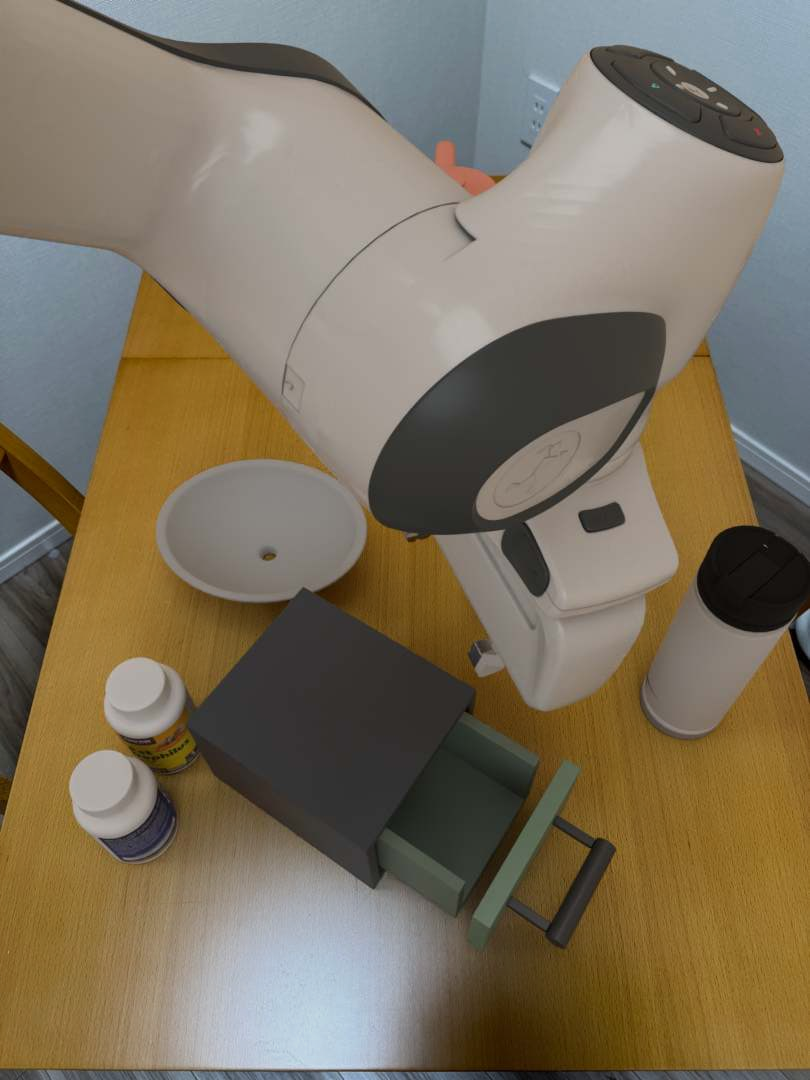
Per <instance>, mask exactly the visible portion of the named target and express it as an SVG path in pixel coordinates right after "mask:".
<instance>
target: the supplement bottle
mask: <svg viewBox="0 0 810 1080" xmlns="http://www.w3.org/2000/svg"><path fill="white" fill-rule="evenodd" d="M104 691H105V695H104V699H103V711H104V712H103V713H104V717H105V718H106V721H107V723H108V724H109V726H110V727H111V728H112V730H113V731H114V732H115V734H116V735H117V737H118V738H119V740H120V741H121V742H122V743H123V745H124V746H125V747H126V749H127V750H128V752H129V753H130V754H131V755H132V757H134V758H137V759H139V760H141V761H142V762H144V763H145V764H146V765H147V766H148V767H149V768H150V769H151V771H152V772H153V773H154V774H155V775H156V774H157V775H169V774H170V775H171V774H176V773H178V772H180V771H183V770H185V769H186V768H188V767H189V766H191V765H192V764H193V763H194V762H195V761H196V760H197V758H198V757H199V756H200V754H202V753H201V752H200V750H199V748H198V746H197V744H196V743H195V741H194V739H193V737H192V736H191V734H190V732H189V730H188V729H187V727H186V725H185V722H186V721H187V720H188V719H189V718H190V717H191V715H192V714H193V713H194V712H195V711H196V710H197V708H198V707H197V706H196V703H195V702H194V700H193V697H192V695H191V694H190V692H189V689H188V687H187V686H186V684H185V682H184V680H183V679H182V677H181V675H180V673H178V672H177V671H176V670H175V669H174V668H173V667H172V666H169V665H168V664H164V663H161V662H157V661H156V660H154V659H151V658H148V657H144V656H143V657H142V656H141V657H140V656H138V657H133V658H128V659H126V660H124V661H122V662H121V663H120V664H118V665H117V666H115V668H113V670H112V671H111V672H110V674H109V675H108V677H107V679H106V681H105V688H104Z"/></svg>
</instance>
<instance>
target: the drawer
mask: <svg viewBox="0 0 810 1080" xmlns="http://www.w3.org/2000/svg"><path fill="white" fill-rule="evenodd" d="M541 758H542V757H540V756H539V754H536V753H535V752H533V751H531V750H529V749H528V748H526V747H525V746H523V745H521V744H520V743H518V742H516V741H515V740H513V739H511V738H510V737H508V736H506V735H505V734H504V733H502V732H500V731H498V730H496V729H495V728H493V727H492V726H490V725H488V724H487V723H485V722H483V721H481V720H480V719H479V718H477V717H476V716H474V715H473V716H472V715H470V714H469V713H467V712H465V711H464V713H463V714H462V716H461V717H460V719H459V720H458V722H457V723H456V725H455V726H454V728H453V729H452V731H451V732H450V734H449V735H448V737H447V738H446V739H445V741H444V742H443V744H442V745H441V747H440V748H439V750H438V751H437V753H436V754H435V756H434V757H433V759H432V760H431V762H430V763H429V765H428V766H427V768H426V769H425V770H424V772H423V773H422V775H421V776H420V778H419V779H418V781H417V782H416V784H415V785H414V787H413V788H412V790H411V791H410V793H409V794H408V796H407V797H406V799H405V800H404V801H403V803H402V804H401V806H400V807H399V809H398V810H397V812H396V813H395V815H394V816H393V818H392V819H391V821H390V822H389V824H388V825H387V827H386V828H385V830H384V831H383V833H382V834H381V835H380V837H379V838H378V840H377V841H376V843H375V844H374V845H375V851H376V858H377V864H378V865H379V866H381V867H382V868H383V869H385V870H386V872H387V873H389V874H390V875H391V876H393V877H394V878H396V879H397V880H399V881H400V882H402V883H403V884H405V885H406V886H408V887H409V888H410V889H411V890H413V891H414V892H416V893H417V894H419V895H420V896H422V897H423V898H424V899H425V900H427V901H429V902H430V903H431V904H433V905H434V906H436V907H437V908H439V909H440V910H441V911H443V912H444V913H446V914H448V915H449V916H450V917H452V918H453V919H456V918H458V916H459V913H461V910H462V908H463V907H464V905H465V904H466V902H467V900H468V898H469V897H470V896H471V893H472V892H473V890H474V889H475V887H476V885H477V884H478V882H479V880H480V878H481V877H482V875H483V873H484V871H485V870H486V868H487V866H488V865H489V863H490V862H491V861H492V858H493V857H494V855H495V854H496V852H497V850H498V848H499V847H500V845H501V843H502V842H503V840H504V839H505V837H506V835H507V833H508V832H509V830H510V828H511V826H512V825H513V823H514V821H515V820H516V818H517V817H518V814H519V813H520V812H521V810H522V808H523V806H524V805H525V803H526V801H527V800H528V798H529V796H530V794H531V791H532V787H533V785H534V781H535V778H536V775H537V772H538V768H539V765H540V762H541ZM581 770H582V768H581V767H580V766H578V765H577V764H575V763H573V762H572V761H570V760H568V759H567V758H563V760H562V762H561V764H560V765H559V768H558V769H557V771H556V772H555V774H554V776H553V777H552V780H551V781H550V782H549V784H548V786H547V787H546V789H545V791H544V793H543V794H542V796H541V798H540V800H538V803H537V805H536V807H535V808H534V810H533V812H532V813H531V815H530V816H529V819H528V820H527V822H526V824H525V825H524V827H523V829H522V830H521V832H520V834H519V836H518V837H517V839H516V840H515V842H514V844H513V845H512V847H511V849H510V851H509V852H508V854H507V856H506V857H505V859H504V861H503V862H502V864H501V866H500V867H499V870H498V872H496V874H495V876H494V878H493V879H492V880H491V881H492V882H490V885H489V886H488V888H487V890H486V892H485V893H484V895H483V897H482V898H481V900H480V901H479V903H478V905H477V907H476V909H475V910H474V912H473V914H472V916H471V920H470V925H469V929H468V934H467V938H466V943H468V945H470V946H472V947H473V948H475V949H476V950H477V951H478V952H480V953H483V952H484V951H485V949H486V947H487V945H488V943H489V941H490V940H491V938H492V936H493V935H494V933H495V931H496V929H497V928H498V926H499V924H500V922H501V920H502V918H503V917H504V915H505V914H506V912H507V910H508V909H509V910H511V911H512V912H514V913H515V914H516V915H519V917H521V918H523V919H524V920H526V921H527V922H529V923H530V924H531V925H533V926H534V927H536V928H537V929H538V930H541V931H542V932H543V933H545V934H544V937H545V939H546V940H547V941H548V942H550V943H551V944H552V945H554V946H555V947H557V948H558V949H561V950H566V948H567V946H568V944H569V942H570V941H571V939H572V937H573V935H574V933H575V931H576V929H577V927H578V925H579V924H580V922H581V919H582V918H583V916H584V913H585V912H586V910H587V907H588V906H589V904H590V902H591V900H592V898H593V897H594V895H595V893H596V891H597V889H598V887H599V885H600V883H601V881H602V880H603V878H604V875H605V873H606V871H607V870H608V867H609V865H610V864H611V862H612V860H613V858H614V856H615V854H616V853H617V847H616V846H615V845H614V844H613V843H612V842H611V841H609V840H607V839H606V838H603V837H599V836H598V837H596V838H595V837H593V836H592V835H590V834H589V833H586V832H585V831H584V830H582V829H580V828H579V827H577V826H576V825H574V824H572V823H571V822H569V821H568V820H566V819H564V818H562V817H561V815H562V813H563V811H564V809H565V808H566V805H567V803H568V801H569V799H570V796H571V794H572V791H573V790H574V786H575V784H576V782H577V779H578V777H579V775H580V773H581ZM554 827H555V828H556V829H558V830H559V831H561V832H562V833H563V834H566V835H567V836H569V837H570V838H572V839H573V840H575V841H576V842H578V843H580V844H581V845H583V846H584V847H586V848H587V849H589V852H588V853H587V855H586V857H585V859H584V861H583V863H582V864H581V866H580V868H579V870H578V872H577V874H576V876H575V877H574V879H573V881H572V883H571V884H570V887H569V889H568V891H567V892H566V894H565V896H564V898H563V899H562V901H561V903H560V905H559V907H558V909H557V911H556V913H555V915H554V917H553V918H552V921H550V920H548V919H547V918H545V917H544V916H542V915H541V914H539V913H537V912H536V911H535V910H533V909H531V908H530V907H528V906H527V905H526V904H524V903H523V902H522V901H519V899H517V898H515V896H516V894H517V893H518V890H519V889H520V887H521V885H522V884H523V882H524V880H525V879H526V876H527V875H528V873H529V871H530V869H531V867H532V865H533V864H534V862H535V861H536V859H537V857H538V855H539V854H540V852H541V851H542V848H543V846H544V845H545V843H546V841H547V839H548V838H549V836H550V834H551V832H552V831H553V829H554Z"/></svg>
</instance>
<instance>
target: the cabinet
mask: <svg viewBox="0 0 810 1080" xmlns="http://www.w3.org/2000/svg"><path fill="white" fill-rule="evenodd" d="M476 695H477V688H475V687H473V686H472V685H470V684H468V683H467V682H465V681H464V680H461V679H459V678H458V677H456V676H455V675H454V674H452V673H450V672H448V671H446V670H445V669H443V668H441V667H439V666H438V665H436V664H434V663H432V662H431V661H429V660H428V659H426V658H424V657H422V656H421V655H419V654H418V653H416V652H414V651H412V650H411V649H409V648H407V647H406V646H404V645H403V644H401V643H400V642H398V641H395V640H394V639H392V638H391V637H389V636H387V635H386V634H384V633H382V632H380V631H378V629H375V628H374V627H372V626H370V625H369V624H368V623H365V622H364V621H362V620H361V619H359V618H357V617H355V616H354V615H352V614H351V613H349V612H347V611H345V610H343V609H341V608H340V607H339V606H337V605H335V604H333V603H331V602H330V601H328V600H327V599H325V598H323V597H321V596H320V595H318V594H316V592H315V593H313V592H311V591H310V590H308V589H306V588H305V587H302V589H301V590H300V591H299V592H298V593H297V594H296V595H295V597H294V598H293V599H292V600H289V602H288V603H287V605H286V606H284V608H283V609H282V610H281V611H280V612H279V614H278V615H277V616H276V618H274V619H273V621H272V622H271V623H270V624H269V625H268V626H267V628H266V629H265V630H264V631H263V632H262V633H261V635H260V636H259V637H258V638H257V639H256V640H255V642H254V643H252V645H251V646H250V647H249V649H247V650H246V652H245V653H244V654H243V655H242V657H241V658H240V659H238V661H237V662H236V663H235V665H234V666H233V667H232V668H231V669H230V670H229V671H228V673H227V674H226V675H225V676H224V677H223V679H221V681H220V682H219V683H218V684H217V685H216V687H215V688H214V689H213V690H212V691H211V692H210V693H209V695H208V696H206V698H205V699H204V700H203V701H202V702H201V704H200V705H199V706H198V707H197V710H196V711H195V712H194V713H193V714H192V715H191V717H190V718H189V719H188V720H187V721H186V722H185V725H186V727H187V729H188V730H189V732H190V734H191V736H192V737H193V739H194V741H195V743H196V744H197V746H198V748H199V750H200V752H201V753H200V754H201V755H202V757H203V759H204V760H205V762H206V764H207V766H208V767H209V769H210V770H211V773H212V775H213V776H214V777H215V778H217V779H218V780H220V781H221V782H222V783H224V784H226V785H227V786H228V787H229V788H231V789H232V790H234V791H235V792H237V793H238V794H239V795H241V796H242V797H243V798H245V799H247V800H248V801H249V802H250V803H251V804H253V805H254V806H256V807H257V808H259V809H260V810H261V811H263V812H264V813H266V814H267V815H268V816H270V817H271V818H273V819H274V820H276V821H277V822H278V823H279V824H281V825H282V826H283V827H286V829H288V830H289V831H290V832H292V833H293V834H295V835H297V836H298V837H299V838H300V839H302V840H303V841H305V842H306V843H307V844H309V845H310V846H312V847H313V848H315V849H316V850H318V851H319V852H320V853H321V854H323V855H325V856H326V857H327V858H328V859H330V860H331V861H332V862H334V863H335V864H337V865H338V866H340V867H341V869H344V870H345V871H347V872H348V873H349V874H351V875H352V876H354V877H355V878H356V879H358V880H359V881H360V882H362V883H363V884H364V885H366V886H367V887H369V888H370V889H372V890H373V891H374V890H375V889H376V888H377V886H378V885H379V883H380V882H381V880H382V879H383V877H384V876H385V874H386V873H387V871H386V870H385V869H383V868H382V867H381V866H379V865H378V864H377V858H376V851H375V845H374V844H375V843H376V841H377V840H378V838H379V837H380V835H381V834H382V833H383V831H384V830H385V828H386V827H387V825H388V824H389V822H390V821H391V819H392V818H393V816H394V815H395V813H396V812H397V810H398V809H399V807H400V806H401V804H402V803H403V801H404V800H405V799H406V797H407V796H408V794H409V793H410V791H411V790H412V788H413V787H414V785H415V784H416V782H417V781H418V779H419V778H420V776H421V775H422V773H423V772H424V770H425V769H426V768H427V766H428V765H429V763H430V762H431V760H432V759H433V757H434V756H435V754H436V753H437V751H438V750H439V748H440V747H441V745H442V744H443V742H444V741H445V739H446V738H447V737H448V735H449V734H450V732H451V731H452V729H453V728H454V726H455V725H456V723H457V722H458V720H459V719H460V717H461V716H462V714H463V713H464V711H465V712H467V713H469V714H470V715H472V716H474V712H475V703H476Z"/></svg>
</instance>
